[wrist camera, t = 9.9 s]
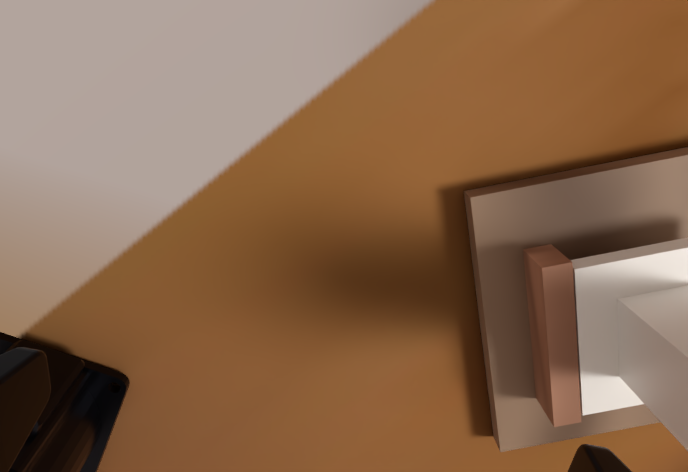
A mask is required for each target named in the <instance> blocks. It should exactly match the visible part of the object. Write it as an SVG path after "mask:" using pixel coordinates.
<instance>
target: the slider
mask: <svg viewBox="0 0 688 472" xmlns="http://www.w3.org/2000/svg"><path fill="white" fill-rule="evenodd" d="M571 261H572V263H573V281H574V299H575V316H576V334H577V352H578V370H579V388H580V406H581V414H582V415H589V414H594V413H599V412H605V411H610V410H615V409H620V408H626V407H631V406H636V405H642V404H645V405H646V406H647V407H648V408H649V409H650V411H651V412H652V413H653V414H654V415H655V416H656V417H657V418H658V419H659V420H660V421H661V423H662V424H663V425H664V426H665V427H666V428H667V429H668V430H669V431H670V432H671V433H672V434H673V436H674V437H675V438H676V439H677V440H678V441H679V442H680V443H681V444H682V445H683V446H684V448H685V449H686V450H687V451H688V238H682V239H677V240H672V241H667V242H662V243H657V244H651V245H646V246H641V247H636V248H631V249H626V250H620V251H615V252H610V253H605V254H600V255H595V256H589V257H584V258H579V259H574V260H571Z"/></svg>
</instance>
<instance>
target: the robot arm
mask: <svg viewBox="0 0 688 472" xmlns="http://www.w3.org/2000/svg"><path fill="white" fill-rule="evenodd" d="M113 382H114V383H117V384H119V385H120V387H115V386H113V384H112V383H113ZM129 383H130V382H129V379H128V377H127V376H126V375H124V374H122V373H120V372H117V371H114V370H111V369H108V368H105V367H102V366H99V365H96V364H93V363H91V362H88V361H85V360H82V359H80V358H77V357H74V356H71V355H68V354H65V353H62V352H59V351H56V350H53V349H50V348H47V347H44V346H41V345H38V344H35V343H32V342H29V341H27V340H22V339H19V338H16V337H13V336H10V335H7V334H4V333H1V332H0V472H97V470H98V467H99V465H100V462H101V459H102V457H103V454H104V451H105V449H106V446H107V443H108V441H109V438H110V435H111V433H112V430H113V427H114V425H115V422H116V419H117V417H118V414H119V411H120V409H121V406H122V404H123V401H124V398H125V396H126V393H127V390H128V388H129ZM568 472H632V471H631V470H630V469H629V468H628V467H627V466H626V465H625V464H624V463H623V462H622V461H621V460H620V459H619V458H618V457H617V456H616V455H615V454H614V453H613V452H611V451H610V450H609V449H607V448H605V447H600V446H594V445H588V444H583V445H581V446H580V447H579V448H578V449H577V451H576V454H575V456H574V458H573V461H572V463H571V465H570V467H569V470H568Z"/></svg>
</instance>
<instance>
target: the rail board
mask: <svg viewBox="0 0 688 472" xmlns="http://www.w3.org/2000/svg"><path fill="white" fill-rule="evenodd" d="M464 198H465V206H466V215H467V223H468V231H469V239H470V247H471V256H472V264H473V272H474V280H475V288H476V296H477V305H478V313H479V321H480V329H481V337H482V346H483V354H484V362H485V370H486V378H487V387H488V395H489V403H490V411H491V419H492V428H493V436H494V439H495V441H496V443H497V446H498V448H499V450H500V452H504V451H509V450H515V449H520V448H525V447H531V446H536V445H541V444H547V443H552V442H557V441H563V440H568V439H573V438H579V437H584V436H589V435H595V434H600V433H605V432H611V431H616V430H621V429H627V428H632V427H638V426H643V425H648V424H654V423H659V422H661V421H660V420H659V419H658V418H657V417H656V416H655V415H654V414H653V413H652V412H651V411H650V409H649V408H648V407H647V406H646V405H645V404H642V405H636V406H631V407H626V408H620V409H615V410H610V411H605V412H599V413H594V414H589V415H582V414H581V406H580V388H579V370H578V352H577V334H576V316H575V299H574V281H573V263H572V261H571V260H574V259H579V258H584V257H589V256H595V255H600V254H605V253H610V252H615V251H620V250H626V249H631V248H636V247H641V246H646V245H651V244H657V243H662V242H667V241H672V240H677V239H682V238H688V147H685V148H680V149H675V150H670V151H665V152H660V153H655V154H649V155H644V156H639V157H634V158H629V159H624V160H619V161H614V162H609V163H604V164H599V165H594V166H588V167H583V168H578V169H573V170H568V171H563V172H558V173H553V174H548V175H543V176H538V177H533V178H528V179H522V180H517V181H512V182H507V183H502V184H497V185H492V186H487V187H482V188H477V189H472V190H467V191H464Z"/></svg>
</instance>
